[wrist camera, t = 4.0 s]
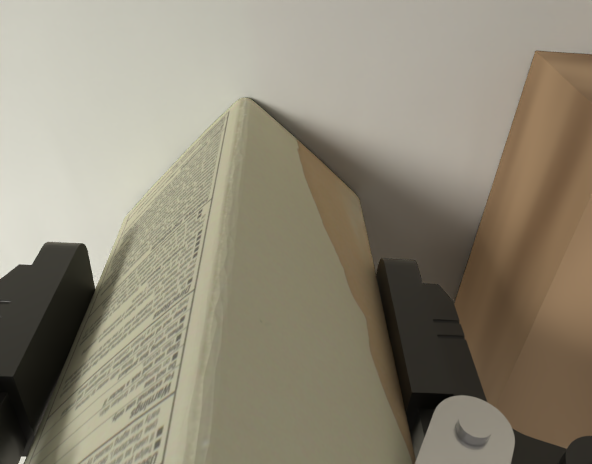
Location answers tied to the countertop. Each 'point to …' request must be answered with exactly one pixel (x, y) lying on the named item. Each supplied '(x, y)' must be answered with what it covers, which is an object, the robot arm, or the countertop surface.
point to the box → (234, 320)
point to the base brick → (538, 260)
